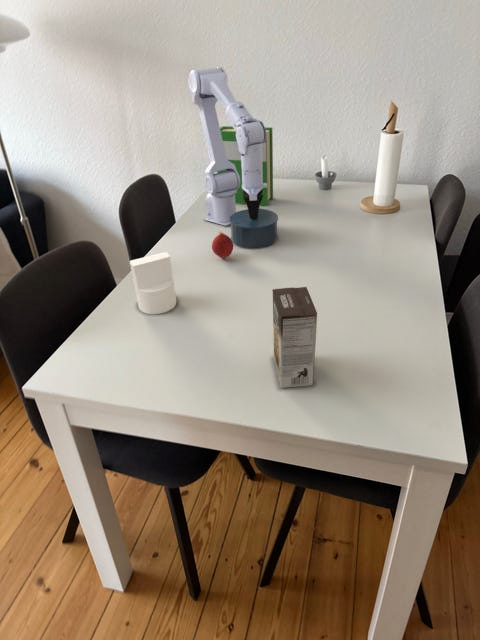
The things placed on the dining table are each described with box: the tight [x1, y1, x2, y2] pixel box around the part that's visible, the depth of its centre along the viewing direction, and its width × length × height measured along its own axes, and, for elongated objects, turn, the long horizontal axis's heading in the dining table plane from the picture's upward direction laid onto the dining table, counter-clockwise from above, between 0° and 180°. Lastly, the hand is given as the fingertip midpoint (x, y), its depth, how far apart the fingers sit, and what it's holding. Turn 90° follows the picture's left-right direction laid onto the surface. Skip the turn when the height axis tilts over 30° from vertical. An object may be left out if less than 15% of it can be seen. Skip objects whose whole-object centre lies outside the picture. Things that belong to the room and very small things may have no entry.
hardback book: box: [216, 125, 274, 207], centre depth 162 cm, size 18×7×24 cm, turn 70°
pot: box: [230, 221, 278, 250], centre depth 140 cm, size 13×13×6 cm
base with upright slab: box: [129, 251, 177, 315], centre depth 110 cm, size 9×9×12 cm
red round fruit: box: [211, 231, 234, 260], centre depth 129 cm, size 6×6×8 cm
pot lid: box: [229, 208, 279, 229], centre depth 137 cm, size 14×14×5 cm
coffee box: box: [272, 286, 318, 389], centre depth 86 cm, size 9×6×16 cm
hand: (253, 216), depth 137 cm, fingers closed on pot lid, 2 cm apart
